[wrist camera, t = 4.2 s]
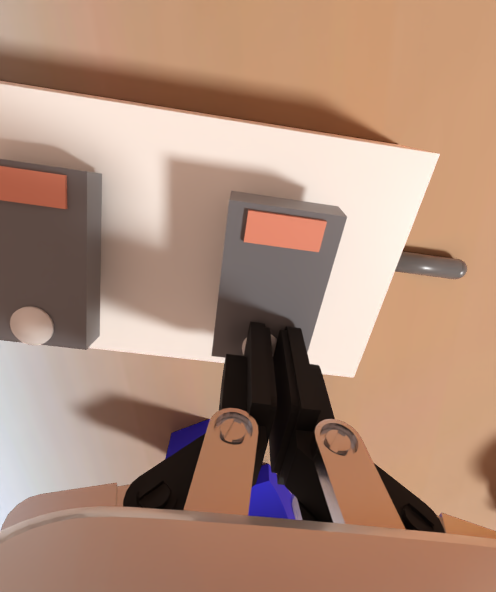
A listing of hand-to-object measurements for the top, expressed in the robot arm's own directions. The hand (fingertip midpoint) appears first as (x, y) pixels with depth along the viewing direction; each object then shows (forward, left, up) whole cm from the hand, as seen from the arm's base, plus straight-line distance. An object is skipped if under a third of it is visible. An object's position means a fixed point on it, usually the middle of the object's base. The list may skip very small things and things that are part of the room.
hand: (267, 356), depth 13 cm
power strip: (+3, +6, -6) cm, 9 cm away
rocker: (+3, +8, -1) cm, 9 cm away
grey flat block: (+3, 0, -1) cm, 3 cm away
